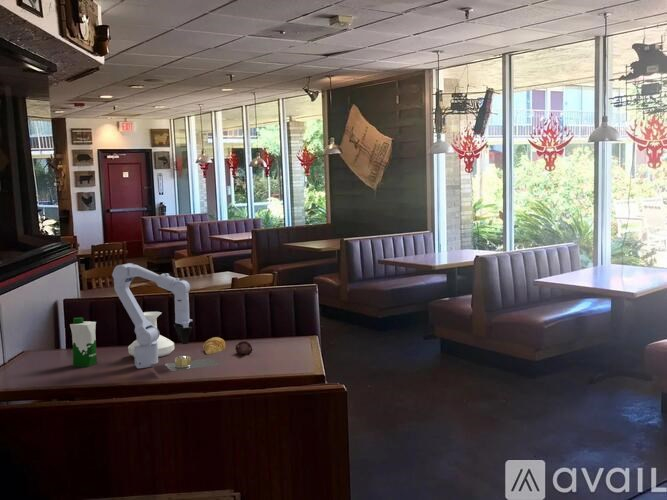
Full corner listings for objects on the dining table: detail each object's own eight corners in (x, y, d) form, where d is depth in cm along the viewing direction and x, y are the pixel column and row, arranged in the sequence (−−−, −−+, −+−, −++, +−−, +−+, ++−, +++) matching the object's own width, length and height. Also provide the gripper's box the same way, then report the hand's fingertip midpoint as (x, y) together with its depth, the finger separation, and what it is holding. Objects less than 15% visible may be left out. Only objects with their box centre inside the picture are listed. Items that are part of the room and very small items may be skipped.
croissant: (214, 365, 298) (222, 349, 297) (194, 354, 298) (202, 338, 297) (226, 353, 319) (233, 338, 318) (207, 343, 319) (214, 328, 318)
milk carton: (81, 362, 295) (79, 316, 294) (100, 362, 293) (98, 316, 292) (69, 366, 286) (67, 319, 285) (89, 367, 285) (86, 320, 283)
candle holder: (120, 361, 294) (117, 317, 293) (141, 351, 314) (139, 310, 313) (163, 362, 291) (161, 317, 289) (182, 351, 310) (180, 310, 309)
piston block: (171, 374, 269) (170, 361, 269) (164, 366, 282) (163, 354, 282) (220, 367, 278) (220, 355, 277) (211, 360, 290) (211, 348, 290)
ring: (177, 367, 273) (177, 359, 273) (174, 364, 279) (174, 357, 278) (191, 365, 276) (191, 358, 275) (188, 362, 281) (188, 355, 281)
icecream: (253, 344, 290) (254, 341, 305) (236, 341, 290) (238, 337, 305) (249, 360, 290) (251, 356, 305) (232, 357, 290) (235, 352, 305)
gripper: (195, 311, 276) (196, 344, 277) (188, 306, 290) (189, 338, 291) (178, 312, 273) (179, 346, 274) (171, 308, 287) (172, 339, 288)
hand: (183, 342), depth 282 cm, fingers open, 7 cm apart
